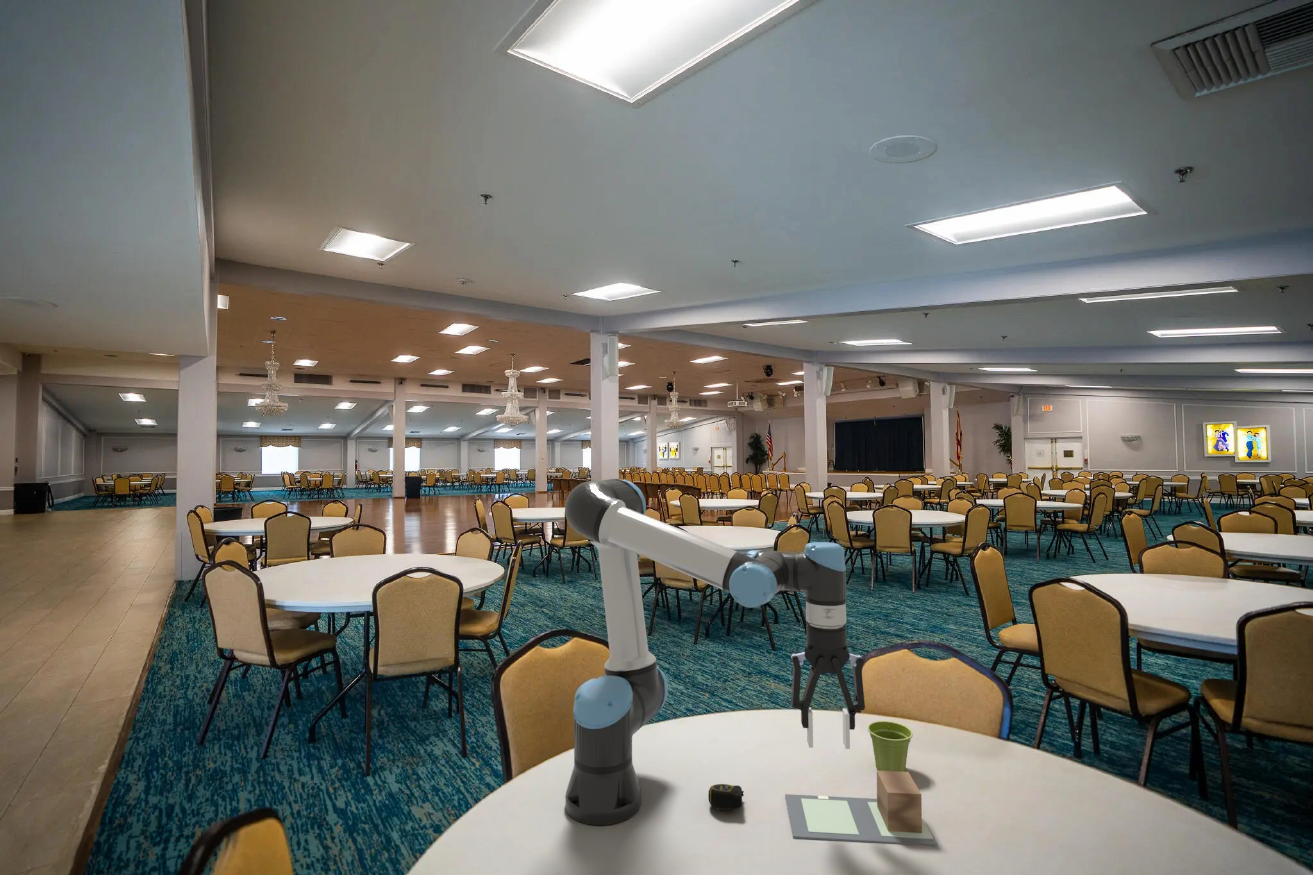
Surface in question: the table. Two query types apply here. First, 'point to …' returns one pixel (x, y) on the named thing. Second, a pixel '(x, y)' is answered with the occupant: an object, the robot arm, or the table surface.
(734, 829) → the table surface
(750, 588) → the robot arm
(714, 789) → the tape measure
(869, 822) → the grey flat panel
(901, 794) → the walnut block
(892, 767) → the plant pot
